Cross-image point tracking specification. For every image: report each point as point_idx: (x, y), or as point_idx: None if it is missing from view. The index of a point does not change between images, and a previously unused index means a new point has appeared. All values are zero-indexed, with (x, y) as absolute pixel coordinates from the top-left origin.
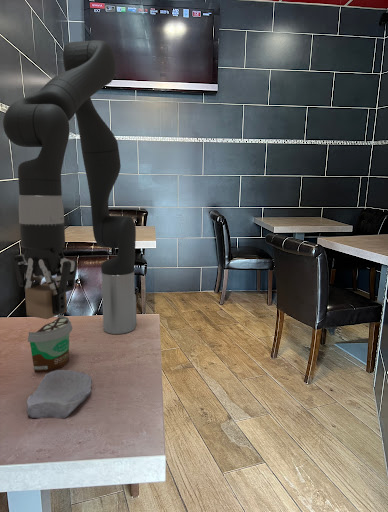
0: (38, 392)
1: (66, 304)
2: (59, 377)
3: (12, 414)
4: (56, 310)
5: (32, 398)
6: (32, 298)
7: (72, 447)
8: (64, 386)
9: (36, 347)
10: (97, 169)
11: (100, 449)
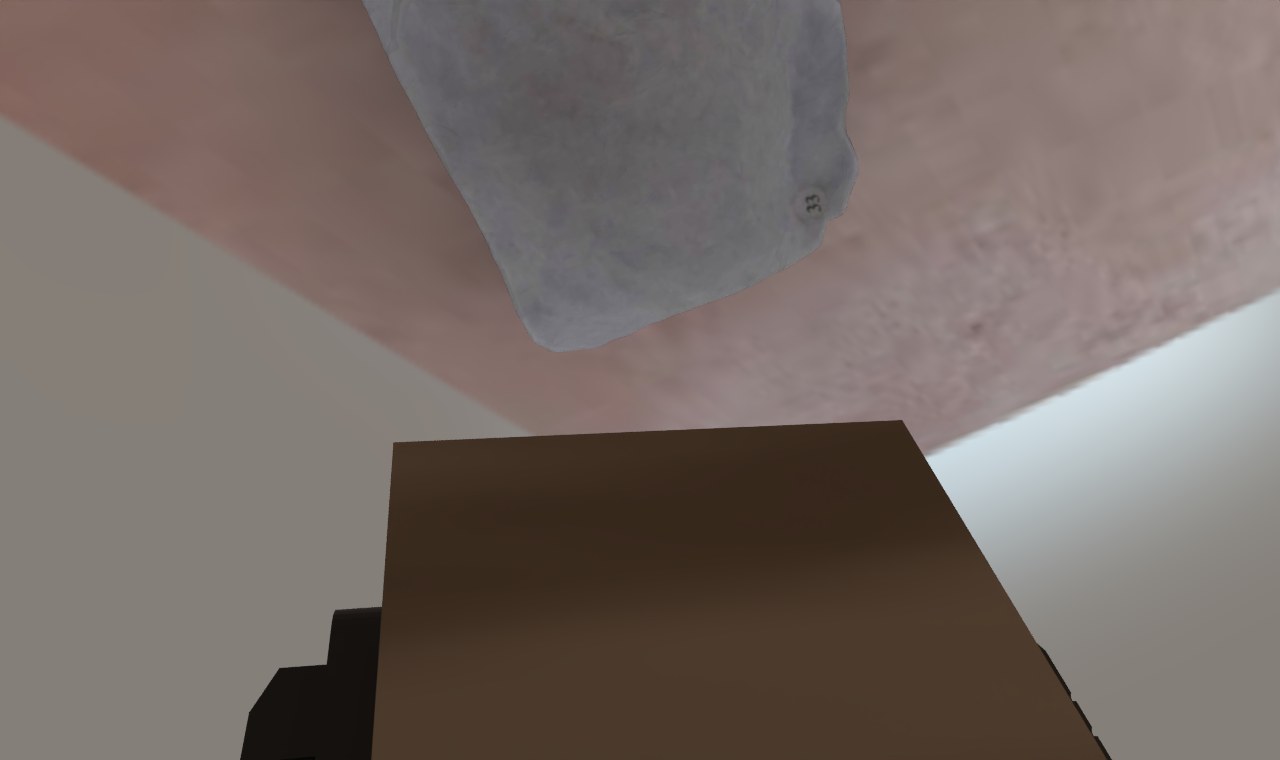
0: (542, 260)
1: (956, 518)
2: (558, 52)
3: (429, 324)
4: None
5: (562, 326)
6: None
7: (956, 368)
8: (668, 105)
9: None
10: None
11: (1100, 322)
